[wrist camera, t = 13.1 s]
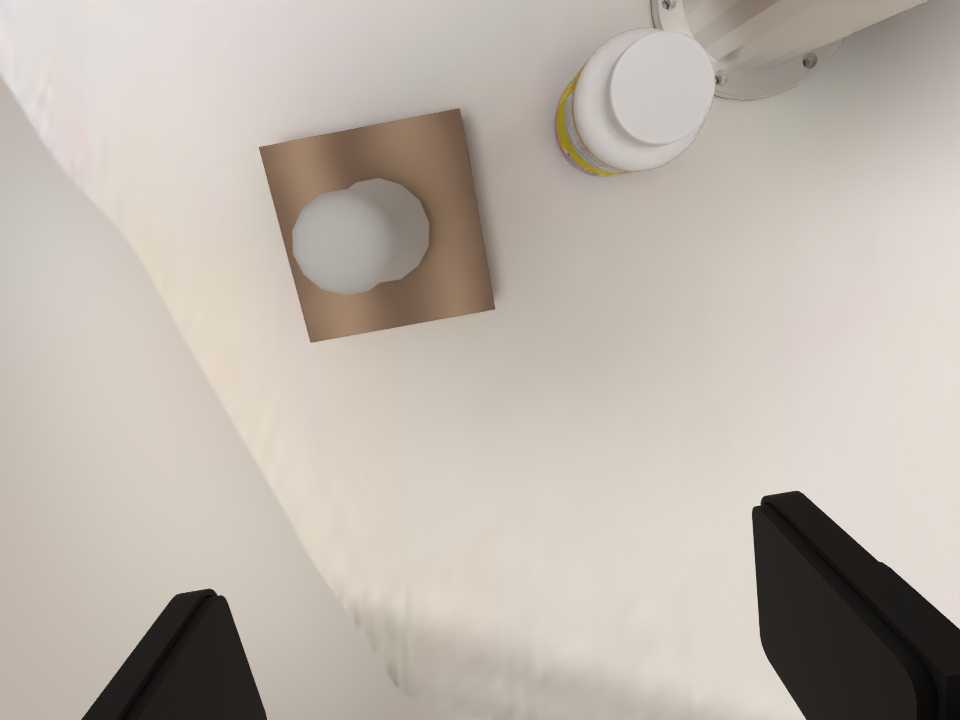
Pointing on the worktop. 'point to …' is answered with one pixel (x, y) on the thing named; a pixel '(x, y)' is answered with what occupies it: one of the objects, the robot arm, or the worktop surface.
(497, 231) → the worktop surface
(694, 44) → the supplement bottle
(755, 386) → the worktop surface
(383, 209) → the salt shaker
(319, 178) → the walnut riser block
